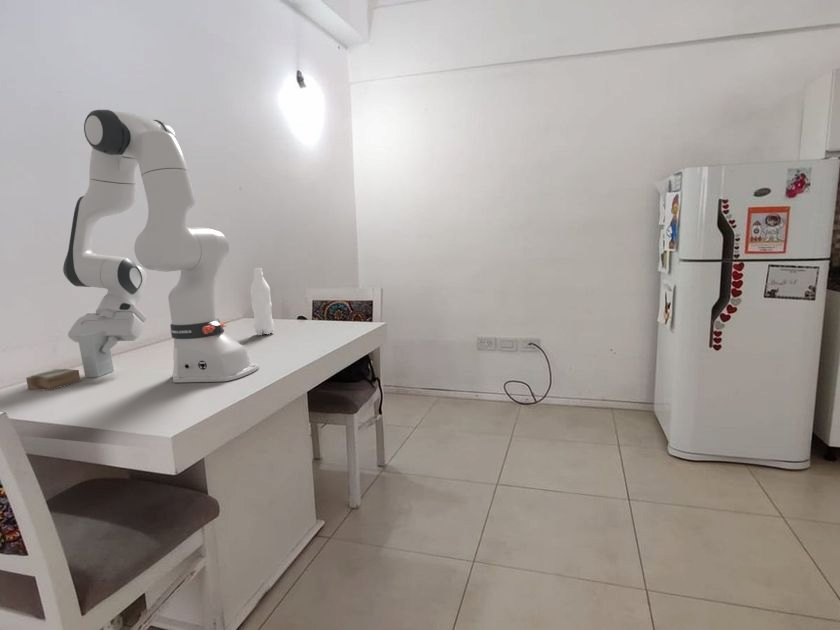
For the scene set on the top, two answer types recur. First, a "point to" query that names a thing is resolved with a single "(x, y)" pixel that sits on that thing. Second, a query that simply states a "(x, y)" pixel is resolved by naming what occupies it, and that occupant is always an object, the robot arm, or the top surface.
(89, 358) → the skincare box
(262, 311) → the water bottle
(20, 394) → the top surface
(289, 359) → the top surface
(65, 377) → the walnut block
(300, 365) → the top surface
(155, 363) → the top surface
